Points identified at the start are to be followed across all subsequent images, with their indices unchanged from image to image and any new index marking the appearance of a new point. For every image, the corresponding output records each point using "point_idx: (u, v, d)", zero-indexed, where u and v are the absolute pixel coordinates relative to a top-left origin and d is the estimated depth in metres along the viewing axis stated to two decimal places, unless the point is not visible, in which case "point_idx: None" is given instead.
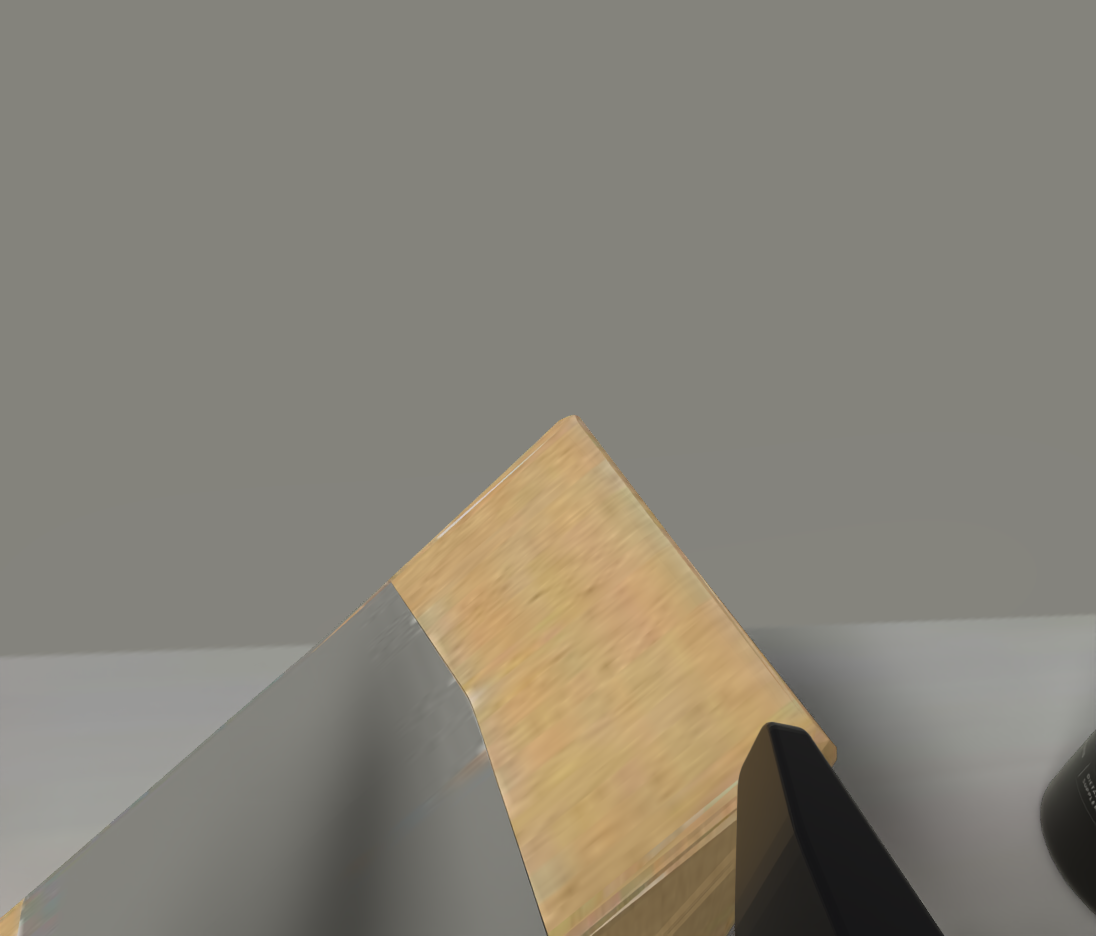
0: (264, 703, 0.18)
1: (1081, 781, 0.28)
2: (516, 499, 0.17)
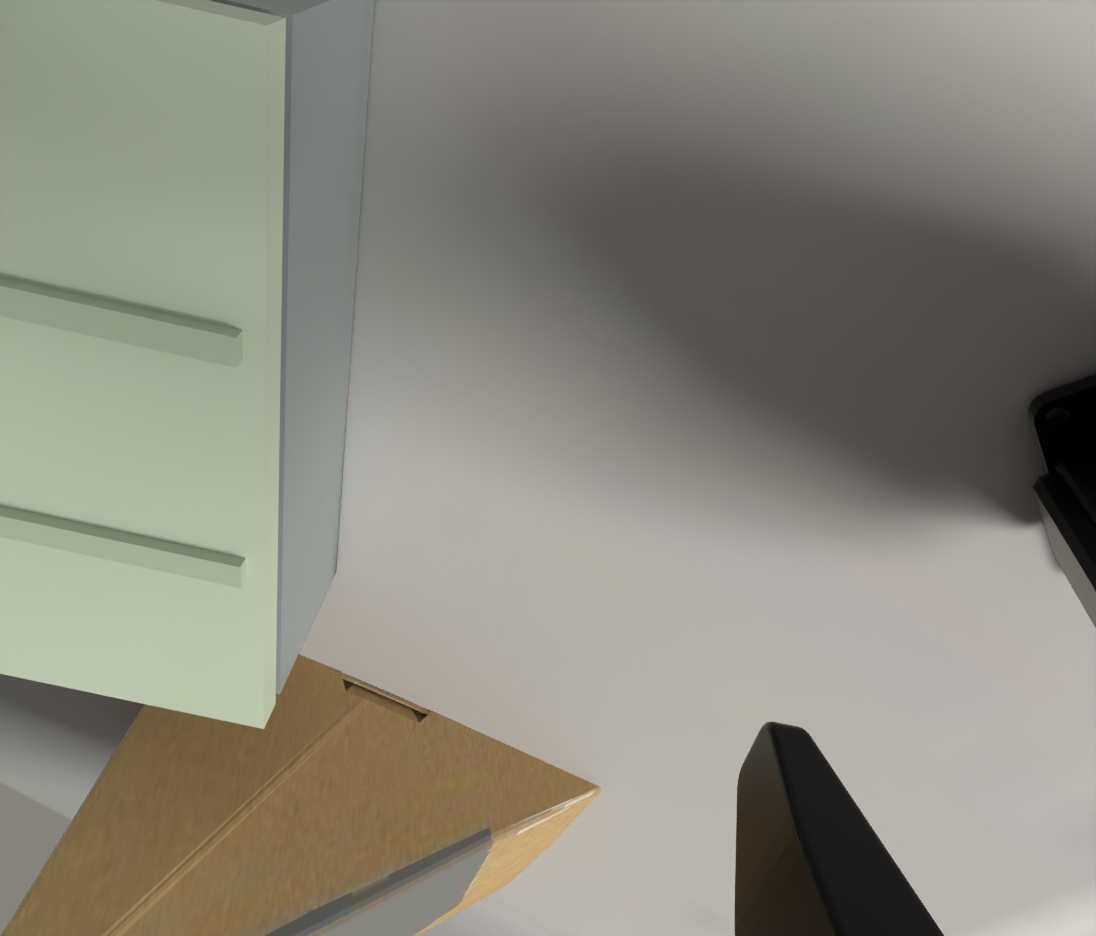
0: None
1: None
2: None
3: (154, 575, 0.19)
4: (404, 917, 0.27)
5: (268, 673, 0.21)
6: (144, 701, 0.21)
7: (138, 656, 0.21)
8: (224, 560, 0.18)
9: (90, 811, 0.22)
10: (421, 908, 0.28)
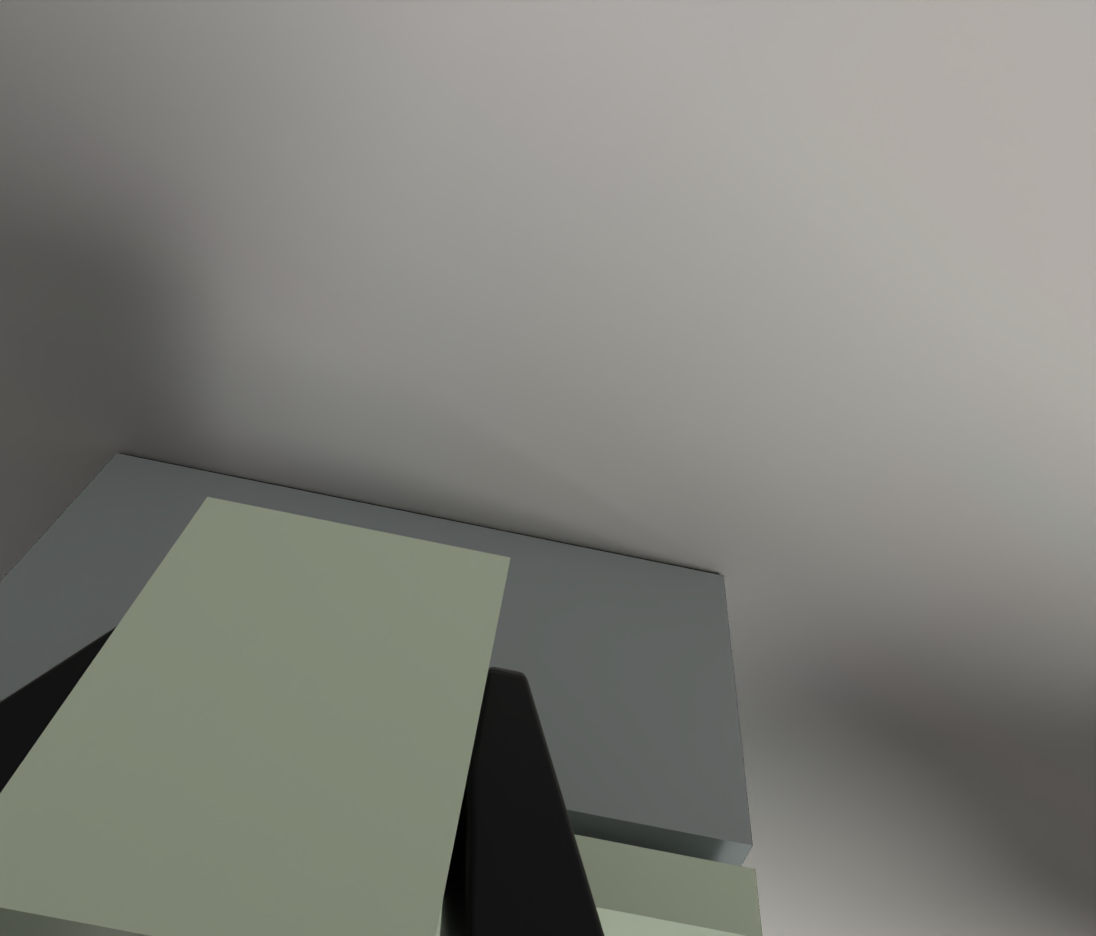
0: None
1: None
2: None
3: None
4: None
5: None
6: None
7: None
8: None
9: None
10: None
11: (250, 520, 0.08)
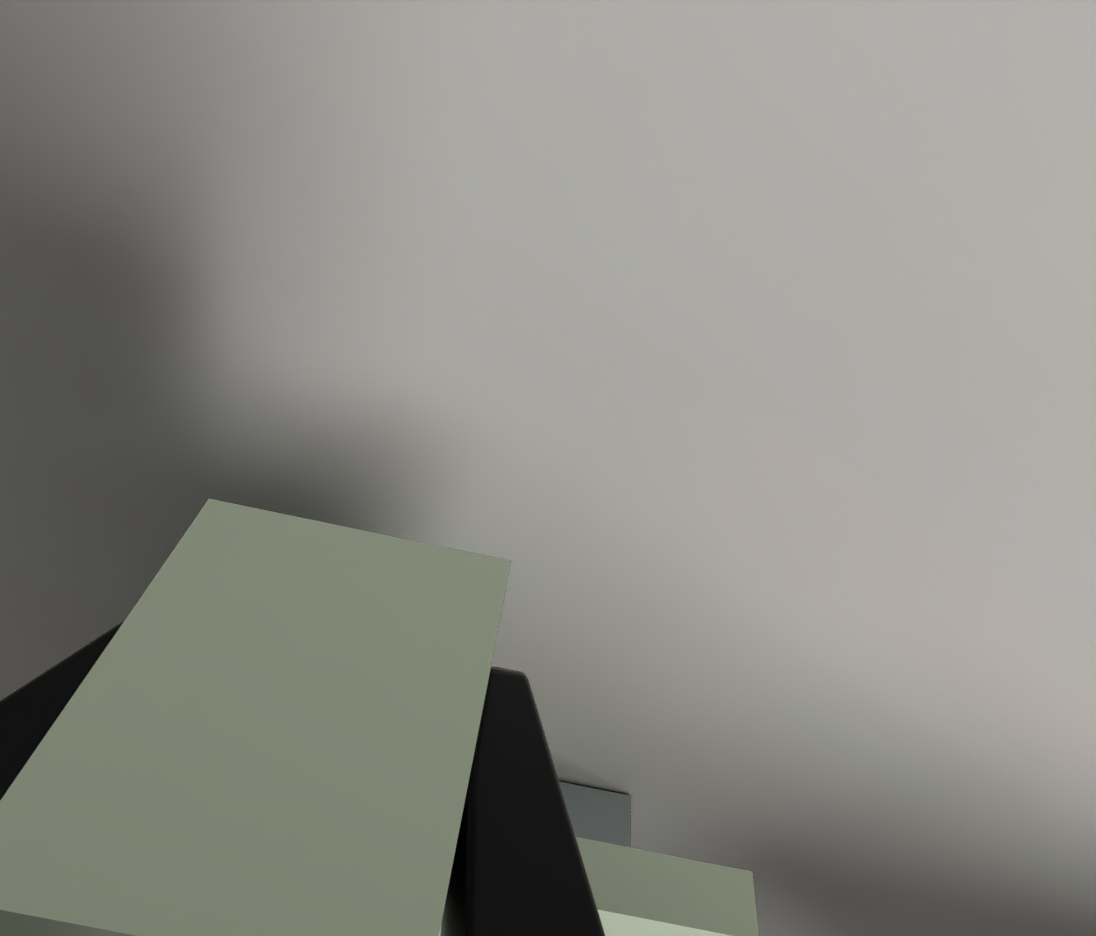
0: None
1: None
2: None
3: None
4: None
5: None
6: None
7: None
8: None
9: None
10: None
11: (251, 522, 0.08)
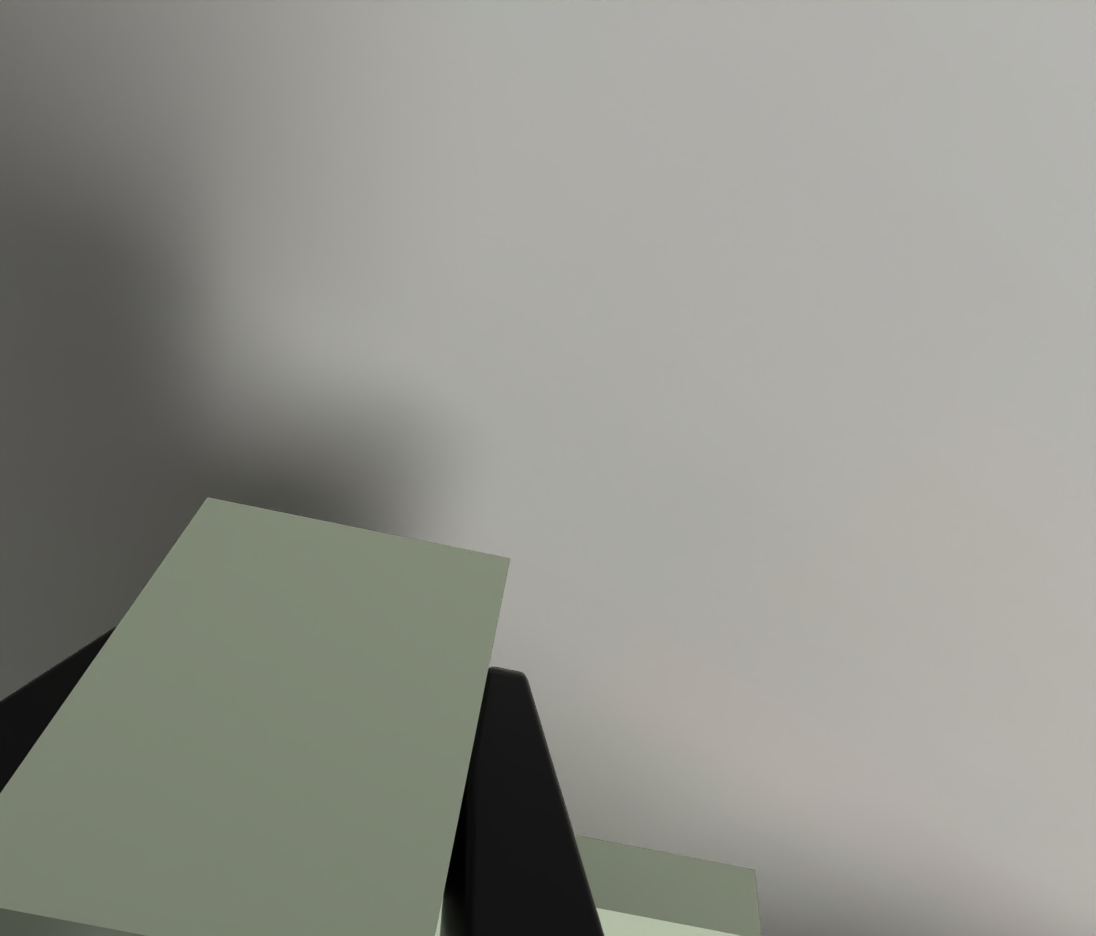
0: None
1: None
2: None
3: None
4: None
5: None
6: None
7: None
8: None
9: None
10: None
11: (250, 521, 0.08)
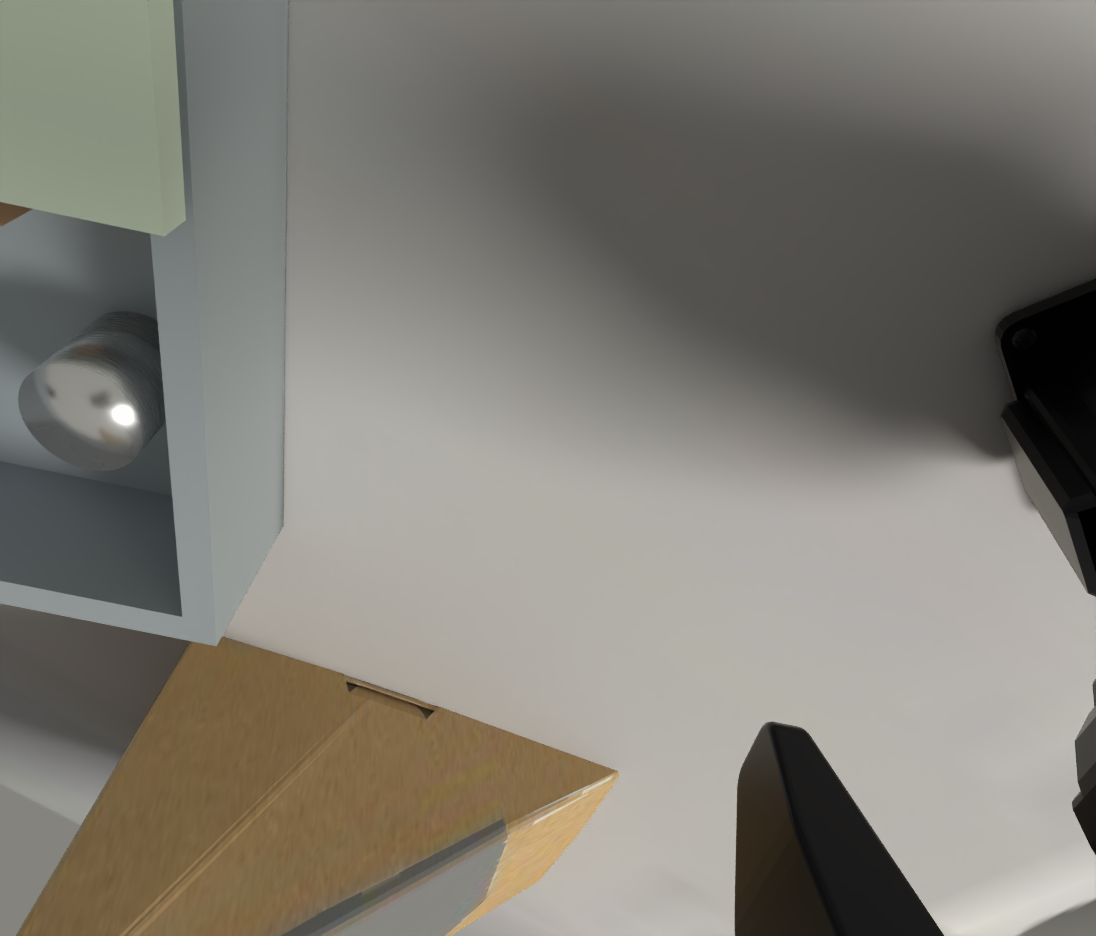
0: None
1: None
2: None
3: None
4: (424, 915, 0.27)
5: (165, 126, 0.14)
6: None
7: None
8: None
9: (92, 827, 0.23)
10: (442, 905, 0.27)
11: None
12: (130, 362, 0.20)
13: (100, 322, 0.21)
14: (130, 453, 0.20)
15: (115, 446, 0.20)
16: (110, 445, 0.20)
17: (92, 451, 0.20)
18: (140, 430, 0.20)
